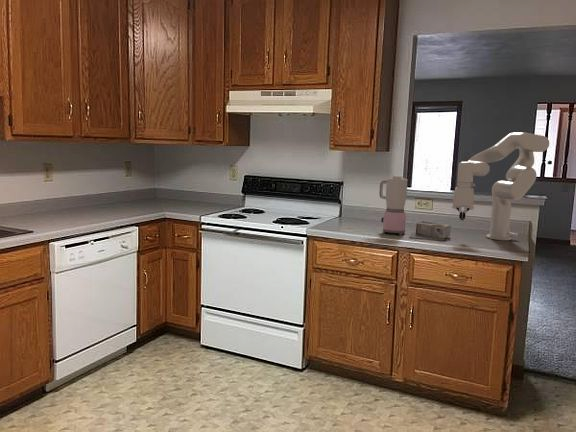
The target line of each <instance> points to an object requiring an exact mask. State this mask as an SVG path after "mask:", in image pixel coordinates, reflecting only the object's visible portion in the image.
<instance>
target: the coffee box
mask: <svg viewBox="0 0 576 432" xmlns="http://www.w3.org/2000/svg"><path fill="white" fill-rule="evenodd" d="M415 225H416V227H415V233H416V234H420V235H426V236H432V237H438V238H445V239H446V238H447V237H451V228H452V227H451V224H446V223H445V224H444V223H438V222H430V221H424V220H423V221H420V222H416V224H415Z"/></svg>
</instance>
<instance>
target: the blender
mask: <svg viewBox="0 0 576 432" xmlns="http://www.w3.org/2000/svg"><path fill="white" fill-rule="evenodd" d="M408 181H409V179H407V178H404V177H403V176H402V175H392V177H388V178H386V180H382V181H381V182H380V183H379V198H380V199H383V200H385V202H386V210H385V211H384V212H383V217H381V220H380V222H381V223H383V224H382V233H383V234H386V233H389V234H390V233H391V234H398V235H399V236H402V235H404V234H405V233H406V221H407V216H406V213H405V205H406V202H407V196H408V194H407V193H408ZM384 184H386V187H385V195H383V191H384V190H383V189H384V188H383V187H384Z"/></svg>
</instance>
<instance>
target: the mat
mask: <svg viewBox="0 0 576 432" xmlns="http://www.w3.org/2000/svg"><path fill="white" fill-rule="evenodd" d="M409 239H414V240H415V239H416V240H417V239H418V240H428V241H437V242H438V241H439V242H445V240H446V238H438V237H432V236H426V235H420V234H416V232H413V231H411V233H410V235H409Z"/></svg>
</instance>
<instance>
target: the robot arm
mask: <svg viewBox="0 0 576 432" xmlns="http://www.w3.org/2000/svg"><path fill="white" fill-rule="evenodd" d="M549 147H550V139H549V138H548V137H547V136H545V135H542V134H535V133H529V132H517V131H516V132H510V133H508V134H507V135H506V136H504V137H503V138H502V139H500V140H499V141H498V142H496V144H494V145H493V146H491V147H489V148H486V149H485V150H483V151H480V152H478V153H477V154H474V155H473V156H472V157H470V158H469V159H468V160H467V161H461V162H459V163H458V169H457V184H456V187H455V188H454V193H453V199H452V209H454V210H457V211H458V213H459V216H458V219H460V221H464V220H465V219H466V213H468V212H469V211H472V210H474V207H475V206H474V203H475V191H474V188H473V187H476V183H473V180H474V176H477V177H484V176H487V175H488V174H489V172H490V168H491V167H490V165H489V163H494V162H495V163H496V162H499V161H502V160H504V159H505V158H506V157H507V156H509V155H510V154H511V153H512V152H514V151H515V150H517V149H518V150H519V156H518V158H517V159H516V161H515V162H514V163H513V164H512V165H511V166H510V168H509V169H508V171H507V172H506V173H505V179H506V180H498V181H496V182H494V184H493V185H492V187H491V196H492V198H491V199H492V206H491V214H490V217H491V218H490V226H489V227H490V228H489V233H488V234H486V238H487V239H490V240H497V241H511V240H512V237H515V238H518V236H519V233H518V232H511V231H510V223H511V212H512V203H511V201H518V200H521V198H522V199H523V198H524V197H525V194H527V192H528V191H529V190H530V189H531V187H532V186H533V185H534V184H535V182H536V180H537V171H536V170H535V169H534V168H533V167H534V164H535V155H534V153H543V152H546V151H547V150H548V149H549ZM462 208H464V209H463V210H462Z"/></svg>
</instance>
